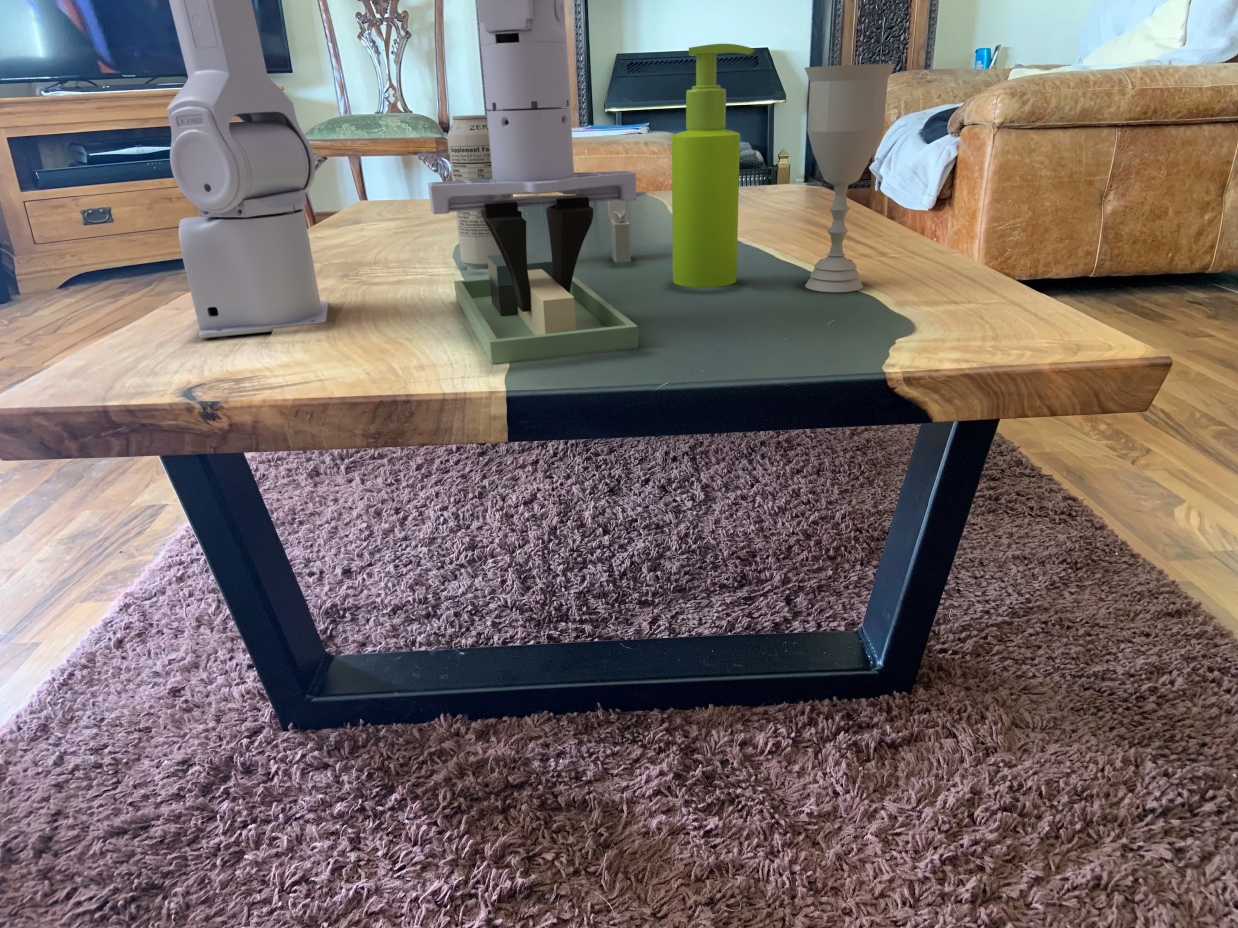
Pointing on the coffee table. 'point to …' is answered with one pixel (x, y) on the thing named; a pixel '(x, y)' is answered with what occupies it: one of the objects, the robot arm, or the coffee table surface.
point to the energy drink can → (472, 163)
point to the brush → (533, 295)
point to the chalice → (843, 150)
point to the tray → (517, 343)
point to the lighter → (619, 231)
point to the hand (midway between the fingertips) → (542, 307)
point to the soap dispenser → (706, 181)
